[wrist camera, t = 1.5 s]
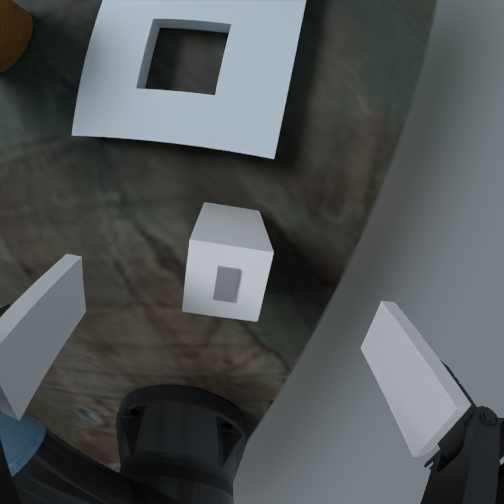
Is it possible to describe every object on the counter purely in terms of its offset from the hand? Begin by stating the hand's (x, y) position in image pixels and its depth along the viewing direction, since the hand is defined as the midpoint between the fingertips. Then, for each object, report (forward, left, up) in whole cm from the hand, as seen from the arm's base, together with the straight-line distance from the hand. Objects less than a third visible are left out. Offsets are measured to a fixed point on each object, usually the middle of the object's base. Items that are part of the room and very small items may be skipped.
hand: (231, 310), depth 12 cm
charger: (0, 0, -11) cm, 11 cm away
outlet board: (+17, +5, -11) cm, 21 cm away
